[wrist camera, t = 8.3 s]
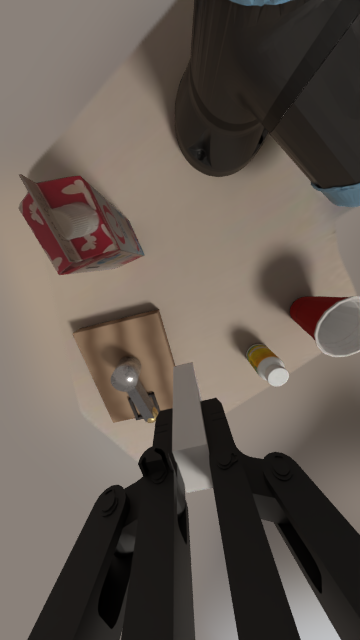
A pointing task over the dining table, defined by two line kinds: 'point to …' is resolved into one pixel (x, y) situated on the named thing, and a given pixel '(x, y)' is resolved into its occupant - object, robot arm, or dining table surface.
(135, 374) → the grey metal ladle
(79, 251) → the juice carton
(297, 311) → the plastic cup
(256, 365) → the supplement bottle
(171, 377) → the lever stand
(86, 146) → the dining table surface
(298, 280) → the dining table surface
